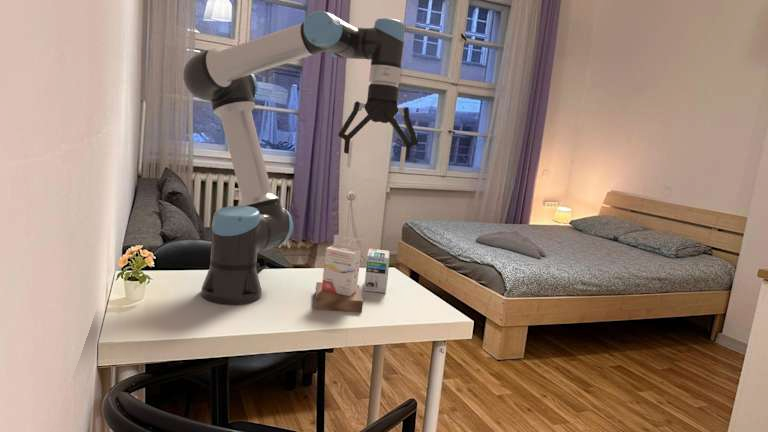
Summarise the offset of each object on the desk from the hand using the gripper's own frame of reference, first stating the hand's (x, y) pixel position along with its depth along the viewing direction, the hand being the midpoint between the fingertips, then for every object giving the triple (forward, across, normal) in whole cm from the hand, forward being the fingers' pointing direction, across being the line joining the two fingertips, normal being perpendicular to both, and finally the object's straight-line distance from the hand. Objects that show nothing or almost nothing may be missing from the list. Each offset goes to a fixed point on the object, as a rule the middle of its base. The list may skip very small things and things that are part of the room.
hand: (375, 169), depth 134 cm
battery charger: (+37, -34, +25) cm, 56 cm away
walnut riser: (+37, -6, +3) cm, 37 cm away
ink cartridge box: (+34, -6, +3) cm, 35 cm away
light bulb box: (+37, +6, +19) cm, 42 cm away
